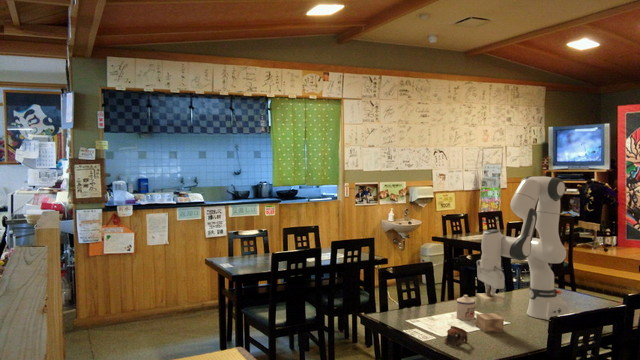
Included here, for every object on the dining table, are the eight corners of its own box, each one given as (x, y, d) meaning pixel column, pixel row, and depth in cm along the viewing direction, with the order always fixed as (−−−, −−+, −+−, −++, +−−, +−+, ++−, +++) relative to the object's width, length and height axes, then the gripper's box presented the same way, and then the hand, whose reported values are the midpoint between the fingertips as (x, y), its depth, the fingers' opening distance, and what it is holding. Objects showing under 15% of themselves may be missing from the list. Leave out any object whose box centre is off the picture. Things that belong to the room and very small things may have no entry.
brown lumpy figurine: (439, 342, 218) (445, 324, 220) (457, 351, 219) (463, 332, 221) (452, 344, 206) (458, 325, 209) (472, 353, 208) (478, 334, 210)
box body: (494, 325, 240) (494, 313, 239) (503, 332, 230) (504, 319, 230) (475, 326, 238) (476, 313, 238) (484, 332, 229) (485, 319, 229)
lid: (494, 296, 239) (495, 286, 239) (504, 301, 230) (505, 291, 230) (475, 296, 238) (476, 286, 238) (484, 301, 229) (485, 291, 228)
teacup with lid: (467, 322, 245) (467, 298, 244) (452, 317, 252) (452, 294, 252) (482, 318, 252) (482, 295, 251) (467, 313, 259) (467, 291, 259)
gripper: (508, 269, 224) (507, 299, 224) (487, 260, 244) (486, 288, 244) (495, 269, 223) (494, 300, 223) (475, 260, 243) (474, 288, 243)
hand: (490, 294), depth 234 cm, fingers closed on lid, 3 cm apart
